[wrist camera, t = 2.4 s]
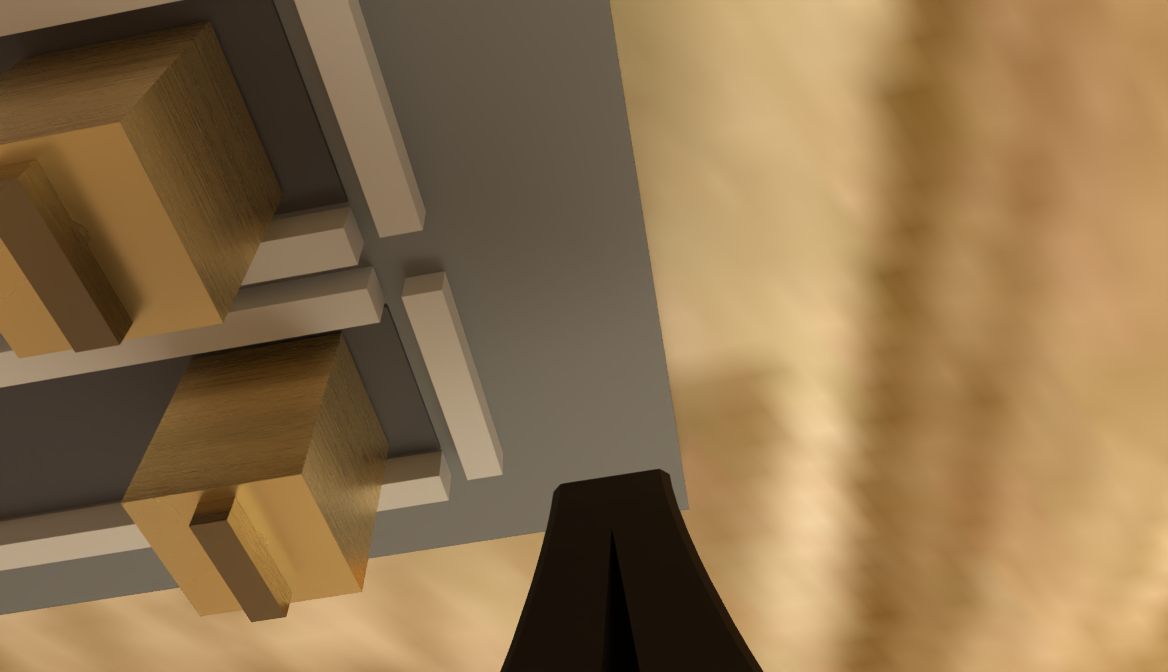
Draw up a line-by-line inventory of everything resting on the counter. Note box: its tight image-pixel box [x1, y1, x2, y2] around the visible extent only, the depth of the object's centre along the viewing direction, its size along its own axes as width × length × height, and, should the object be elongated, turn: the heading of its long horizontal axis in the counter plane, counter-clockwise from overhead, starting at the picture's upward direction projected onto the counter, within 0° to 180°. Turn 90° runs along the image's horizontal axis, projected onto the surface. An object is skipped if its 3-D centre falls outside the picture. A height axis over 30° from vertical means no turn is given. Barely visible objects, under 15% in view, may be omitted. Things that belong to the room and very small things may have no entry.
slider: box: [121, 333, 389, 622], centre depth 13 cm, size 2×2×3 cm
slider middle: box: [0, 21, 283, 359], centre depth 10 cm, size 2×2×3 cm
